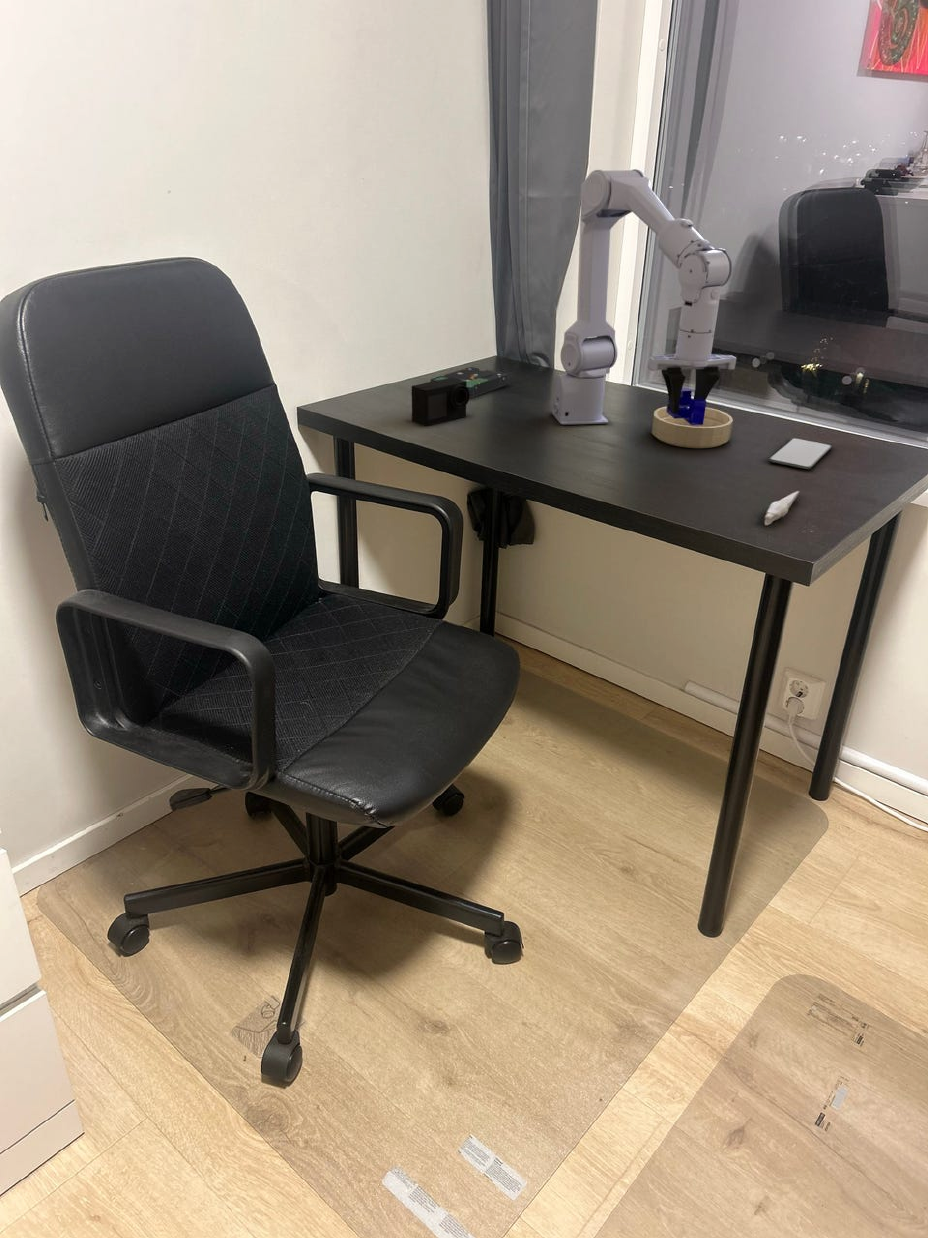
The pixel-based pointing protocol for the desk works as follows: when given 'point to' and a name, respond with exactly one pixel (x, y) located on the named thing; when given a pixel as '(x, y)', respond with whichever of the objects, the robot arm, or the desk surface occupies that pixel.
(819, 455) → the smartphone
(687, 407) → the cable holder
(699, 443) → the bowl
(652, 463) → the desk surface
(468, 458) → the desk surface
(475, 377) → the disk drive
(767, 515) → the spindle seashell
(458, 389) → the digital camera
